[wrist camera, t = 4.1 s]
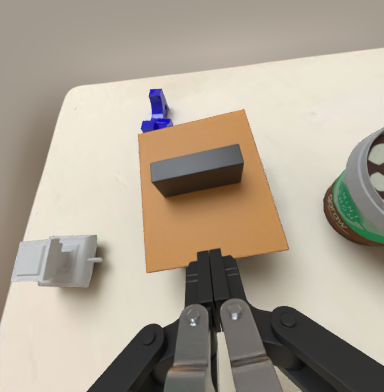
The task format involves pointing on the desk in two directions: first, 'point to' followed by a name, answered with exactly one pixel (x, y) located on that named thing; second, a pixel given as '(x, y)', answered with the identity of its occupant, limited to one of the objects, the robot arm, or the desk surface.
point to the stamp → (57, 261)
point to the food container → (360, 194)
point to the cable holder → (157, 112)
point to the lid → (205, 193)
